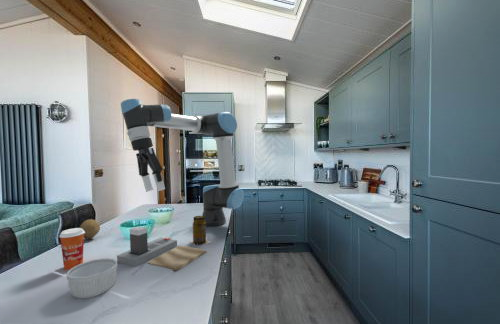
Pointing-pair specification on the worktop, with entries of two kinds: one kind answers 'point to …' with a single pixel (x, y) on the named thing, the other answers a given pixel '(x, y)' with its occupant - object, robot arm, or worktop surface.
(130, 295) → the worktop surface
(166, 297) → the worktop surface
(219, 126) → the robot arm
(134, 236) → the charger
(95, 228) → the natural sponge
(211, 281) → the worktop surface
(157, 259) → the tan cloth
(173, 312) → the worktop surface
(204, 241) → the condiment
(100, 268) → the ramekin
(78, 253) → the paper cup
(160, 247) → the grey slotted holder
